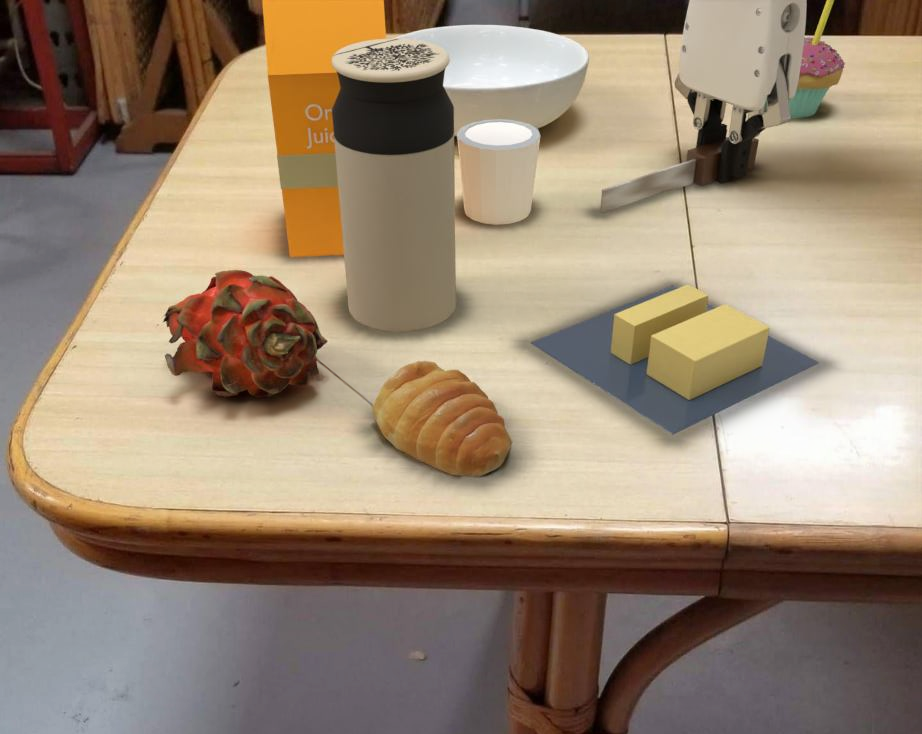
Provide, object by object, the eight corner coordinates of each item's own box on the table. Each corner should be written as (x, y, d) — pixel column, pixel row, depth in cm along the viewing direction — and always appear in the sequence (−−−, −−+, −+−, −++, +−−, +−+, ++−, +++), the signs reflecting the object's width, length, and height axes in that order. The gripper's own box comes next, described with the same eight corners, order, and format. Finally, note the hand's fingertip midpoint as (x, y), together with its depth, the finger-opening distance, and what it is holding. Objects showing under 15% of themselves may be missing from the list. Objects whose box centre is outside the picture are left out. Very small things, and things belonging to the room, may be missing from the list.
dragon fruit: (327, 436, 70) (192, 410, 76) (370, 320, 72) (234, 303, 77) (254, 380, 63) (110, 355, 68) (304, 252, 64) (158, 238, 70)
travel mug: (476, 318, 79) (477, 61, 67) (381, 349, 75) (364, 84, 64) (421, 276, 84) (413, 29, 72) (330, 303, 81) (306, 49, 69)
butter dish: (671, 291, 81) (672, 284, 81) (817, 369, 73) (819, 362, 73) (529, 349, 75) (529, 342, 75) (671, 442, 67) (672, 434, 66)
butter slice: (682, 322, 77) (687, 283, 75) (702, 333, 76) (708, 294, 74) (610, 352, 74) (614, 313, 72) (630, 365, 72) (634, 325, 71)
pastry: (538, 457, 66) (540, 405, 63) (452, 502, 63) (450, 449, 60) (445, 392, 71) (443, 342, 69) (361, 430, 68) (356, 379, 66)
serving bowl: (627, 132, 106) (634, 59, 102) (454, 181, 97) (453, 104, 93) (503, 77, 119) (504, 10, 115) (340, 116, 110) (334, 45, 106)
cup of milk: (521, 193, 95) (523, 113, 91) (549, 225, 90) (553, 142, 86) (447, 204, 94) (446, 123, 89) (471, 236, 89) (471, 152, 84)
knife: (735, 164, 100) (741, 132, 98) (753, 171, 99) (759, 139, 97) (591, 214, 92) (594, 180, 90) (609, 222, 91) (612, 188, 89)
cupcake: (839, 105, 112) (867, -22, 104) (824, 133, 106) (853, 1, 98) (757, 94, 114) (778, -30, 106) (738, 121, 108) (759, -9, 101)
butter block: (718, 342, 75) (725, 303, 73) (762, 366, 72) (770, 326, 70) (645, 374, 72) (650, 335, 70) (689, 400, 69) (695, 360, 67)
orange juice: (292, 221, 91) (261, -40, 78) (395, 216, 92) (382, -44, 79) (289, 262, 86) (255, -12, 72) (399, 257, 86) (386, -16, 73)
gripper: (865, -36, 82) (814, 195, 95) (712, -72, 92) (684, 142, 104) (801, -21, 79) (757, 217, 91) (649, -60, 89) (627, 160, 101)
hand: (718, 175), depth 98 cm, fingers closed on knife, 2 cm apart
